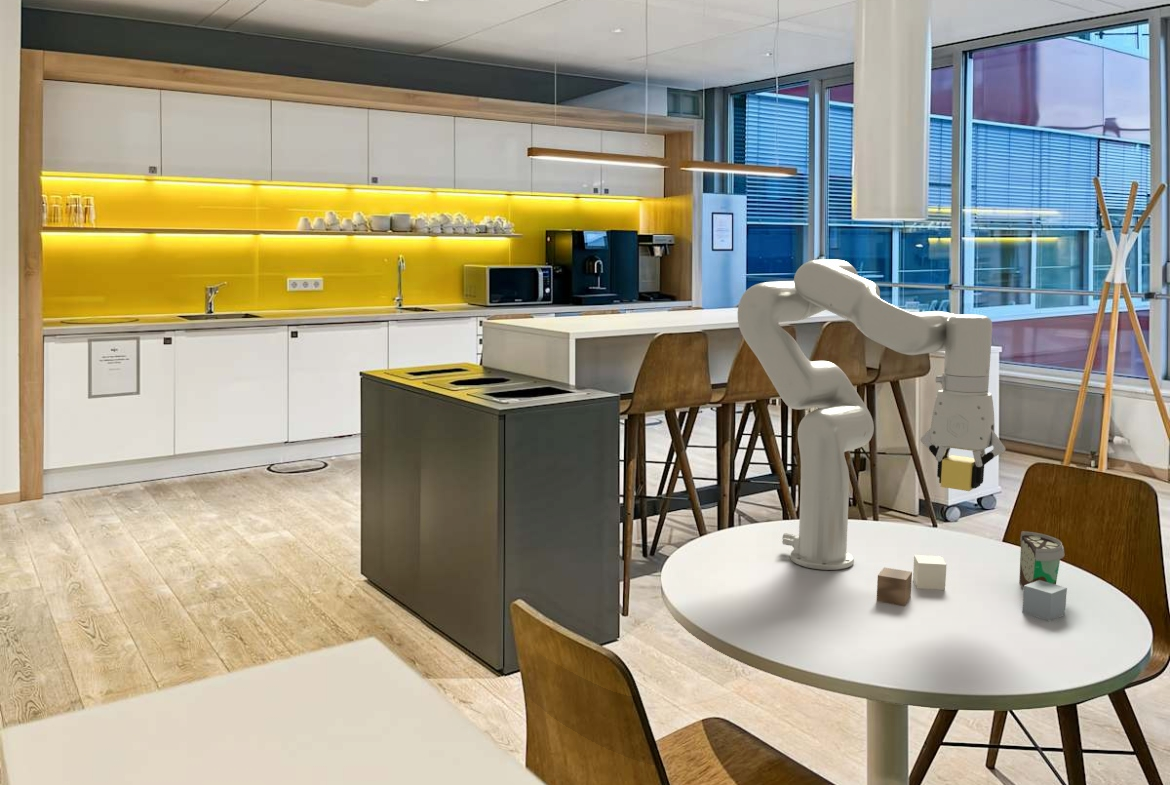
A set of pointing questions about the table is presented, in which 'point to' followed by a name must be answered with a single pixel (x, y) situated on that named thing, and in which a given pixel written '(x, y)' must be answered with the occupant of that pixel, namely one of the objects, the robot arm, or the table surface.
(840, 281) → the robot arm
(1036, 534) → the food container
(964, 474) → the mustard cube
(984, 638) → the table surface
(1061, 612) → the slate cube
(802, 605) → the table surface
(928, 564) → the cream cube
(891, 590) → the walnut cube
